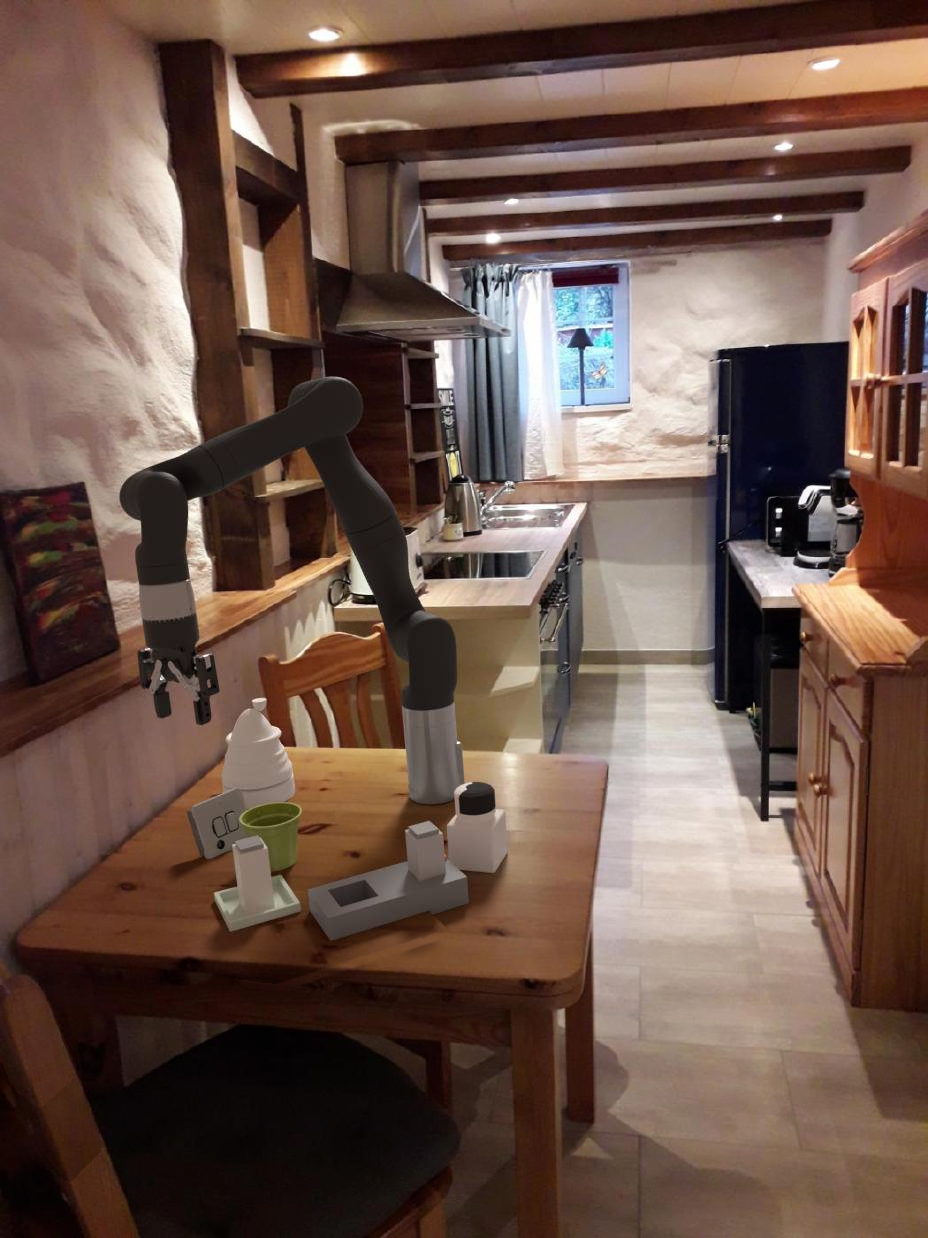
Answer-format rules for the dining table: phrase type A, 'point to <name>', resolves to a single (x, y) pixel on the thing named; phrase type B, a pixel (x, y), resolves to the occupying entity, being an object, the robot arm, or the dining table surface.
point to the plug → (253, 875)
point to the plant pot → (275, 831)
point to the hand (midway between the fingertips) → (183, 720)
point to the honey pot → (257, 760)
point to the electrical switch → (218, 823)
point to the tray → (238, 919)
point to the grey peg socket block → (392, 888)
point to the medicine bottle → (477, 829)
